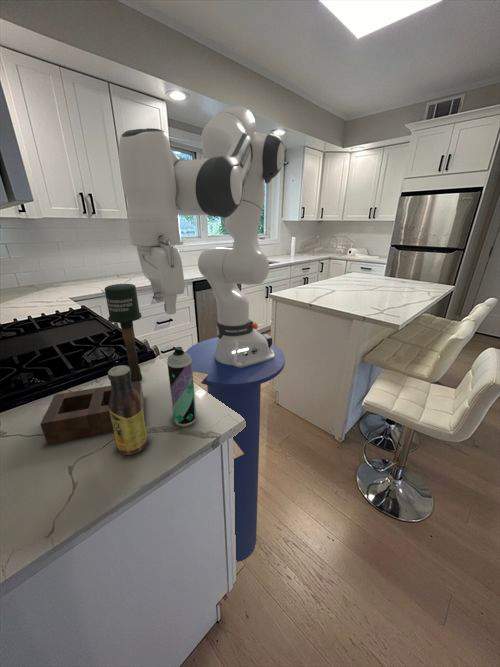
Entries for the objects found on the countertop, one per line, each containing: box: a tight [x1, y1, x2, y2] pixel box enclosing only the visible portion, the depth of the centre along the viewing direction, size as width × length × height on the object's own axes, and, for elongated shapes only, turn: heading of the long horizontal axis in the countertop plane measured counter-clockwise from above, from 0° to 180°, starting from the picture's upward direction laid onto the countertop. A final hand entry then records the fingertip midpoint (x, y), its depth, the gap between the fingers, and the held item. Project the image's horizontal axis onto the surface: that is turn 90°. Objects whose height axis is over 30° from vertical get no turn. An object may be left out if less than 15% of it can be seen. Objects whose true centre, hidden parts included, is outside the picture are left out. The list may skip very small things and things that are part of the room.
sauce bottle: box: [107, 364, 148, 456], centre depth 58 cm, size 7×6×20 cm
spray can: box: [166, 346, 197, 427], centre depth 67 cm, size 6×6×20 cm
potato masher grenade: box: [104, 283, 143, 382], centre depth 81 cm, size 8×9×30 cm
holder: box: [40, 381, 145, 446], centre depth 69 cm, size 20×11×6 cm, turn 110°
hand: (164, 306), depth 56 cm, fingers open, 8 cm apart
